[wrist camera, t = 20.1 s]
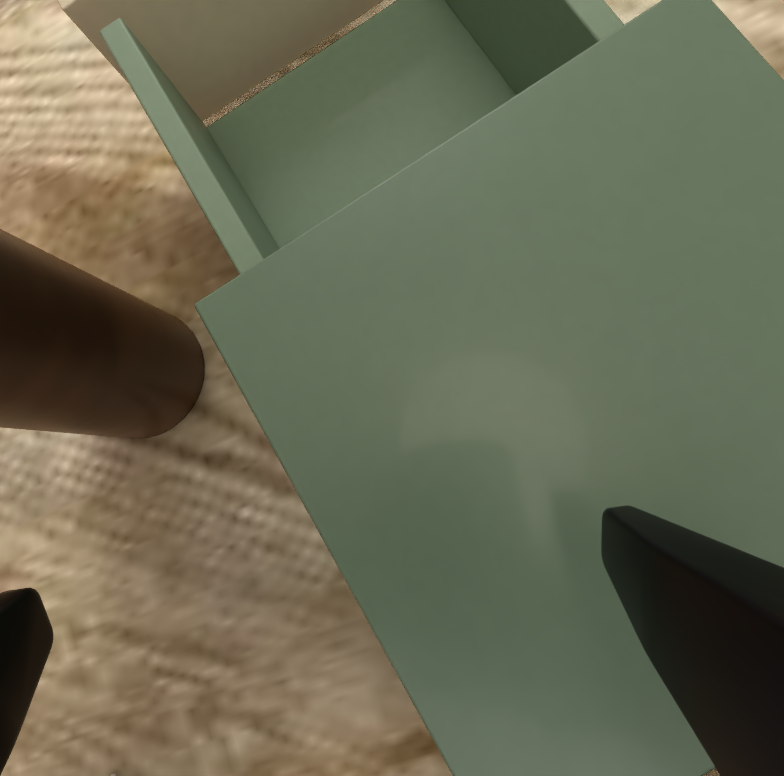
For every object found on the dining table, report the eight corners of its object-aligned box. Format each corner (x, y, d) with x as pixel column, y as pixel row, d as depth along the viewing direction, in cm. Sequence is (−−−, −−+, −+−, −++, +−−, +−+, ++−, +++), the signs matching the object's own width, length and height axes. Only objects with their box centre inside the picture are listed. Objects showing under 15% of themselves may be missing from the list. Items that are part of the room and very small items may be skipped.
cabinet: (297, 364, 22) (192, 303, 14) (608, 167, 21) (694, -23, 13) (494, 705, 19) (512, 886, 11) (860, 490, 18) (1172, 510, 10)
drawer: (124, 47, 24) (-5, -108, 18) (376, -125, 24) (339, -352, 17) (318, 378, 21) (248, 338, 14) (618, 188, 20) (689, 54, 14)
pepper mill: (183, 452, 22) (-175, 434, 10) (68, 422, 23) (-390, 371, 11) (219, 324, 23) (-77, 158, 10) (105, 299, 24) (-290, 120, 11)
